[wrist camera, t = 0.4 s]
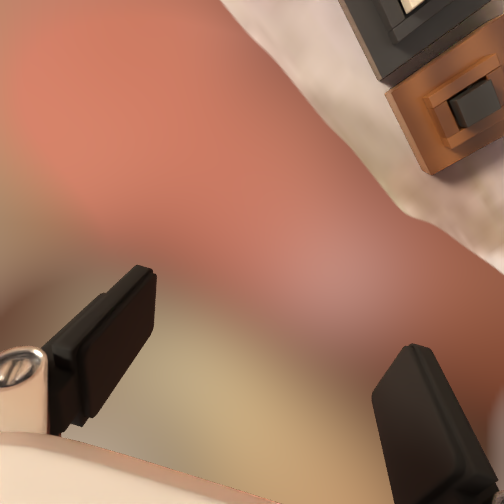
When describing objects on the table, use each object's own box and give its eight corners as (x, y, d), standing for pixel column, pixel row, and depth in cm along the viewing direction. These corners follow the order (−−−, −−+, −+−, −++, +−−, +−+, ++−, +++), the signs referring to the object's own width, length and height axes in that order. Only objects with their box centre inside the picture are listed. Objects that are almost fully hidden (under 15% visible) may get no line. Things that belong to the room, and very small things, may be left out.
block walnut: (486, 21, 27) (517, 7, 23) (520, 115, 30) (552, 117, 26) (384, 93, 31) (395, 92, 27) (422, 170, 34) (437, 179, 30)
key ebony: (481, 80, 26) (491, 78, 24) (492, 107, 27) (502, 108, 25) (448, 100, 27) (456, 100, 25) (459, 126, 28) (467, 128, 26)
